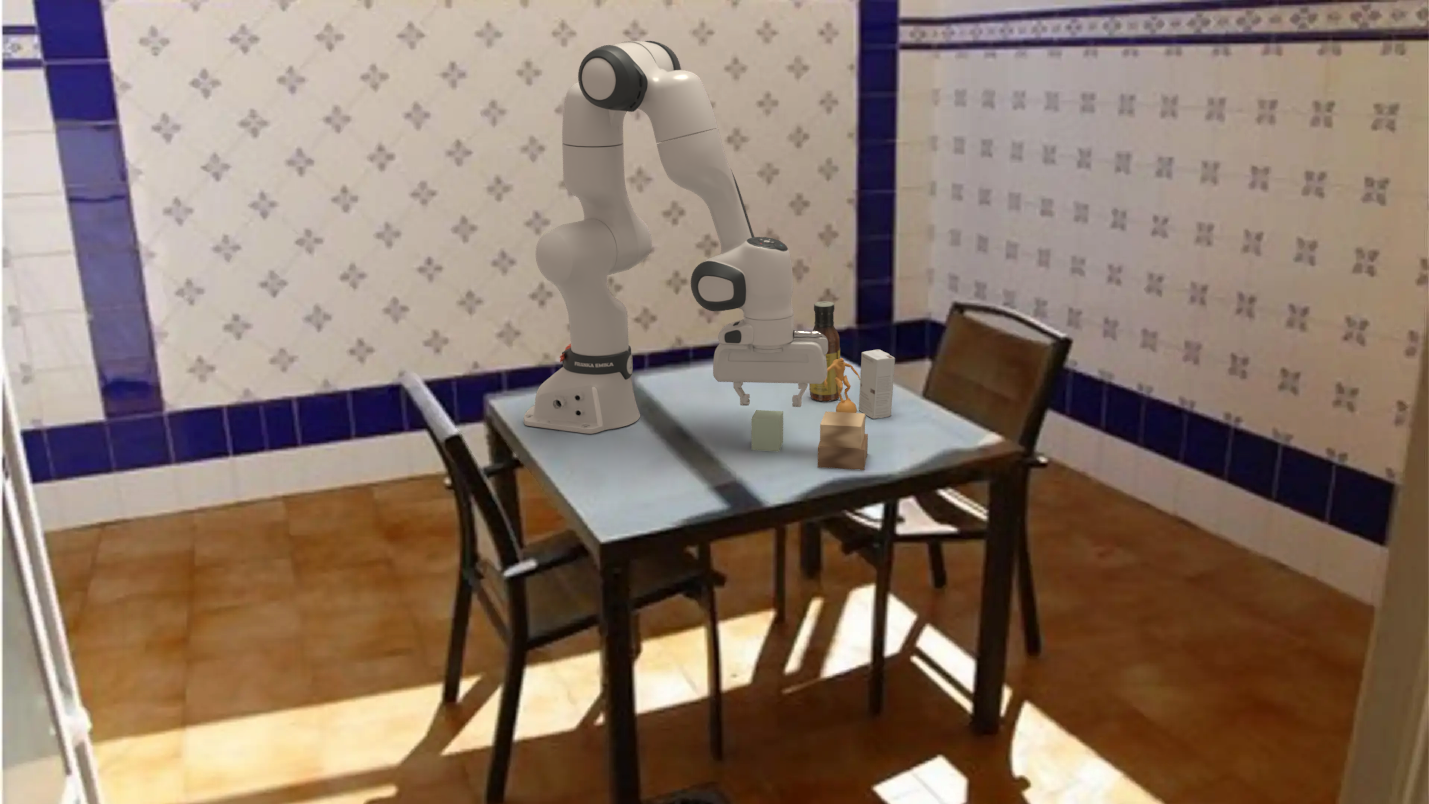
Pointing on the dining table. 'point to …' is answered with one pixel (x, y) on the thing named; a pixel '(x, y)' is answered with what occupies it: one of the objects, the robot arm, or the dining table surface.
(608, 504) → the dining table surface
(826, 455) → the tower base
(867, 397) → the skincare box
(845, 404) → the figurine
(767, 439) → the green block
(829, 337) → the sauce bottle
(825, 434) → the tower top
